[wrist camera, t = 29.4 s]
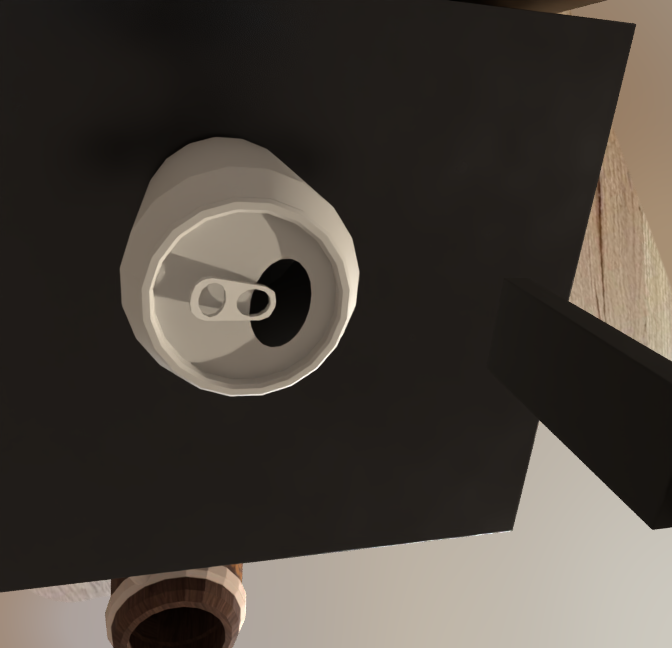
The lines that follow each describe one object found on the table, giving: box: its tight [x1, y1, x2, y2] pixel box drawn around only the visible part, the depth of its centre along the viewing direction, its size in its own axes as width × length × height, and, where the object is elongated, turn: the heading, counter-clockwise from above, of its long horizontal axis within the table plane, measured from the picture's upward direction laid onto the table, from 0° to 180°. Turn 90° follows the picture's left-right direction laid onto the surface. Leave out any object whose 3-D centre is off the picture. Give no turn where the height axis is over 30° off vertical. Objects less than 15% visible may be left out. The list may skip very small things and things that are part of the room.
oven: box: [0, 0, 636, 592], centre depth 41 cm, size 32×40×26 cm
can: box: [120, 137, 359, 396], centre depth 22 cm, size 8×8×12 cm
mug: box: [105, 563, 246, 648], centre depth 57 cm, size 20×15×15 cm
